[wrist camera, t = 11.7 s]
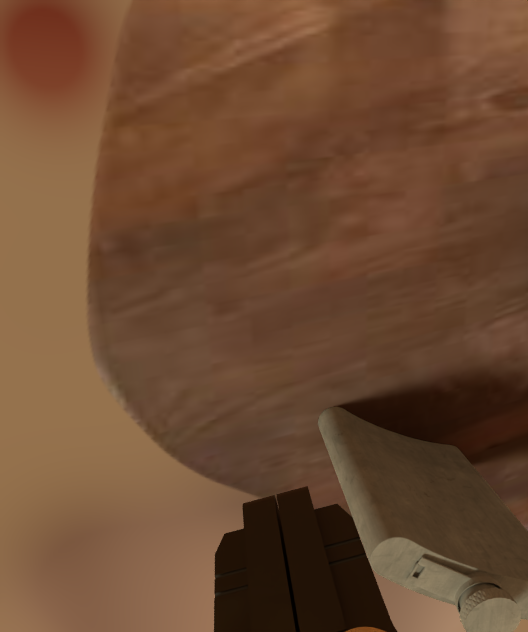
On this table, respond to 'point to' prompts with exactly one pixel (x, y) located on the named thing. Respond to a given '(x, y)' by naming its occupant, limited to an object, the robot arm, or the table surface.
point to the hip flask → (431, 521)
